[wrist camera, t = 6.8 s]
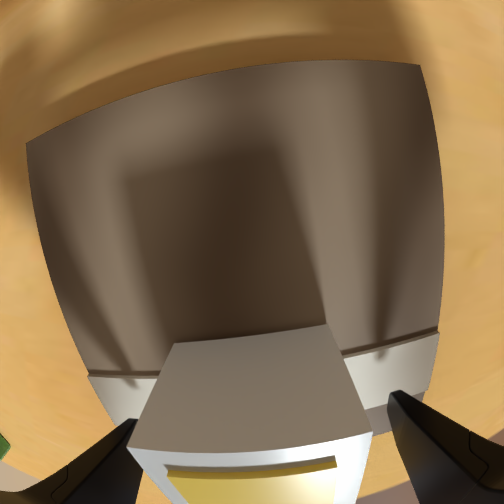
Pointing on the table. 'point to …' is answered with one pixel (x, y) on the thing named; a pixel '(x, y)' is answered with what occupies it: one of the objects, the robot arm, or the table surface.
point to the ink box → (3, 447)
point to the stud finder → (255, 422)
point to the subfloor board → (249, 222)
